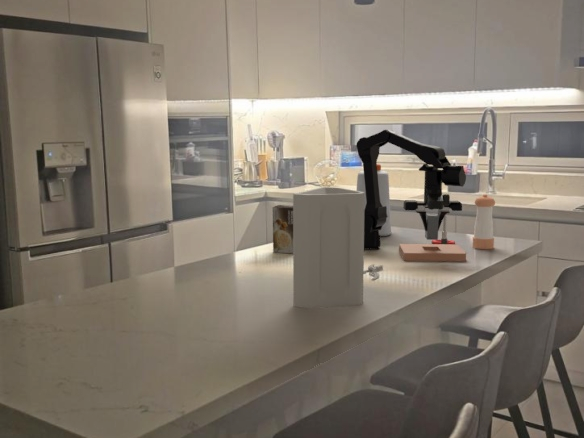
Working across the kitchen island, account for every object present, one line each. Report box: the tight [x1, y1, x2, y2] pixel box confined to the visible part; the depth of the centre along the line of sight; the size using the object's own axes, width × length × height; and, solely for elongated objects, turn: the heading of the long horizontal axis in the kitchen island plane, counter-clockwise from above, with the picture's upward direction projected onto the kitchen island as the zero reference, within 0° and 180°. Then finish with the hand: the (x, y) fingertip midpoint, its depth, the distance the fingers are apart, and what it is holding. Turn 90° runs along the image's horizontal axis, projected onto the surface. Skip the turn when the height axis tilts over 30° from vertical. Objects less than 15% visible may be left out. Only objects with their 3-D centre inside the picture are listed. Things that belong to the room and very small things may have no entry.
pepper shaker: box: [472, 194, 496, 250], centre depth 238 cm, size 7×7×19 cm
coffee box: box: [271, 204, 293, 255], centre depth 231 cm, size 9×6×16 cm
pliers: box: [363, 263, 384, 281], centre depth 199 cm, size 10×2×15 cm
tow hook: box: [431, 214, 456, 244], centre depth 246 cm, size 8×13×9 cm
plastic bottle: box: [355, 163, 392, 237], centre depth 267 cm, size 15×15×28 cm
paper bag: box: [292, 186, 365, 309], centre depth 168 cm, size 19×15×28 cm
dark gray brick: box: [424, 213, 439, 241], centre depth 223 cm, size 4×5×8 cm
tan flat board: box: [398, 243, 467, 262], centre depth 224 cm, size 20×16×2 cm
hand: (431, 230), depth 223 cm, fingers closed on dark gray brick, 3 cm apart
